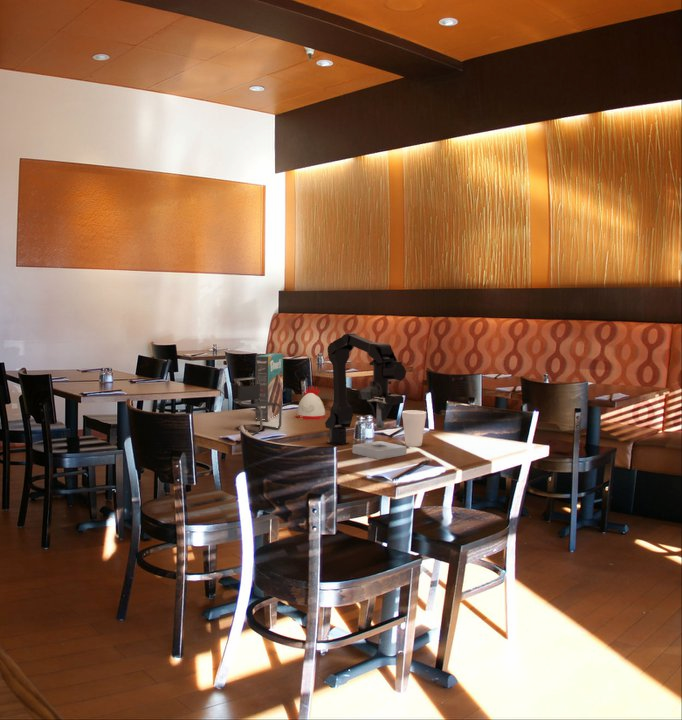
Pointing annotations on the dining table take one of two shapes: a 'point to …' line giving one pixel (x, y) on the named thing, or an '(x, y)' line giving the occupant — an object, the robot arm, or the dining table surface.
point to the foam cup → (413, 427)
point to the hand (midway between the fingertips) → (380, 420)
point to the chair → (251, 394)
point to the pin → (379, 416)
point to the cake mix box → (269, 384)
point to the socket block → (379, 450)
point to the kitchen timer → (311, 405)
